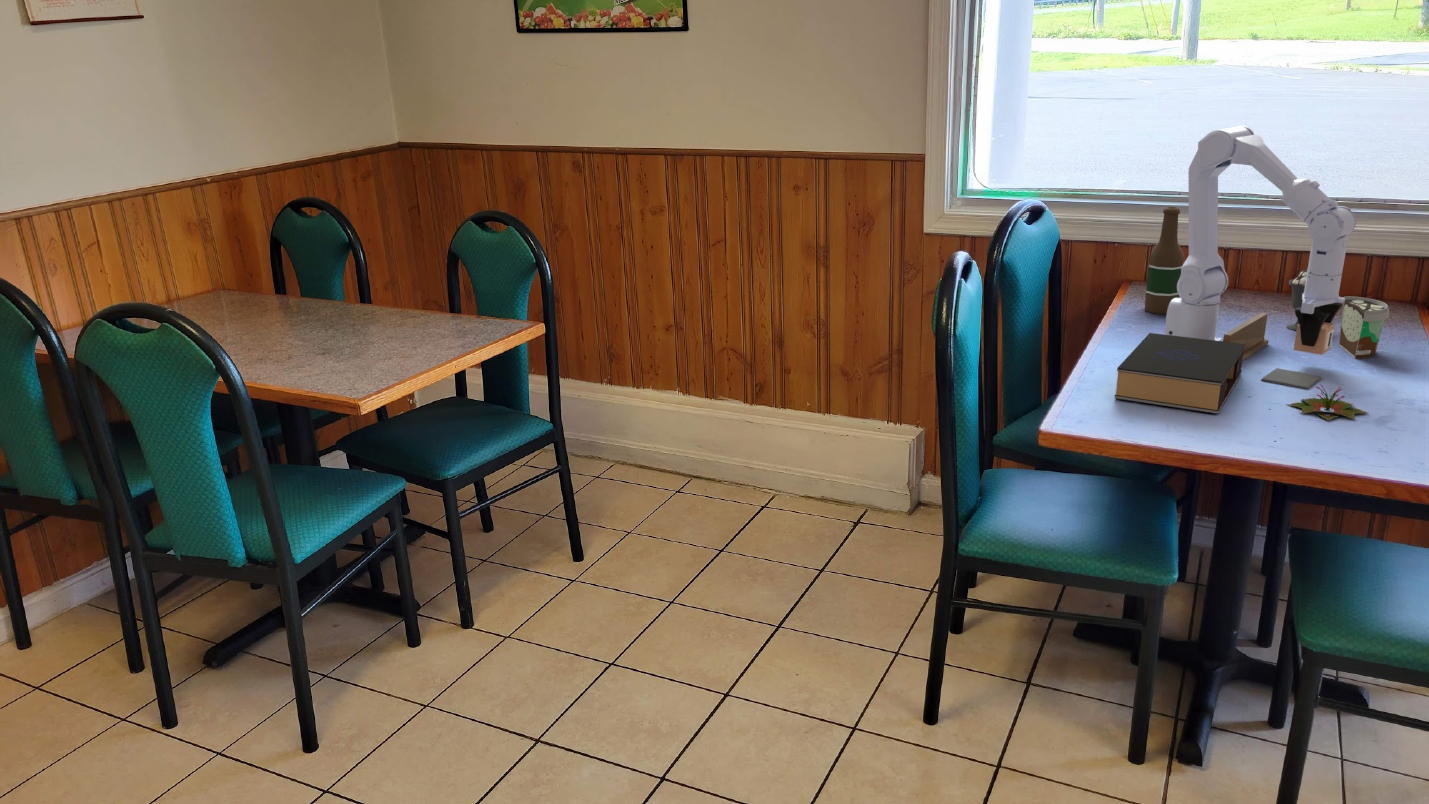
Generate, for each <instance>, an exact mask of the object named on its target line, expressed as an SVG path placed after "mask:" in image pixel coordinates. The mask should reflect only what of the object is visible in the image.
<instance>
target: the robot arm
mask: <svg viewBox="0 0 1429 804" xmlns="http://www.w3.org/2000/svg"><path fill="white" fill-rule="evenodd" d="M1232 164H1235V165H1243V166H1250V167H1252V168H1253V169H1255V170H1256V171H1257V172H1258V173H1259V174H1260V175H1262V176H1263V177H1264V178H1265V179H1267V180H1268V181H1269V182H1270V183H1271V184H1273V185H1274V186H1275V187H1276V188H1277V189H1278V190H1279V191H1281V192H1282V203H1284V204H1285V205H1286V207H1288V208H1289V209H1290V210H1291V211H1292V212H1293V213H1295V214H1296V215H1297V217H1298V218H1300V220H1302V221H1303V222H1304V223H1305V224H1306V225H1308V226H1307V227H1308V228H1307V230H1308V234H1309V236H1310V238H1311V239H1312V240H1311V241H1312V242H1311V248H1310V252H1309V258H1308V266H1307V269H1306V270H1307V276H1306V283H1305V289H1304V293H1303V294H1302V301H1303V302H1302V307H1297V308H1296V309H1294V314H1295V316H1296V319H1298V321H1299V325H1300V332H1301V342H1302V345H1306V346H1312V347H1313V346H1315V344H1316V342H1317V339H1318V336H1319V333H1320V330H1321V327H1322V325H1323V323H1324V322H1326V323H1332V322H1333V320H1334V318H1335V317H1336V315H1337V314H1338V312H1339V311H1340V309H1341V308H1343V306H1342V304H1343V302H1344V301H1345V296H1344V297H1343V296H1342V297H1341V296H1340V295H1339V293H1340V287H1341V283H1342V282H1341V281H1342V276H1343V271H1344V270H1343V269H1344V263H1345V259H1346V253H1347V245H1348V240H1349V235H1351V233H1352V232H1353V231H1354V230H1355V228H1356V225H1357V219H1356V216H1355V214H1354V212H1352V210H1351V208H1349V207H1348V206H1344V205H1338V204H1339V202H1338V201H1337V200H1335V199H1333V200H1332V199H1331V198H1330V197H1329V196H1328V195H1327V194H1326V193H1325V192H1323V191H1322V190H1321V189H1320V188H1319V187H1320V186H1321V185H1320V183H1319V182H1318V181H1316V180H1313V181H1312V180H1310V179H1309V178H1301V179H1299V178H1298V177H1297V176H1296V175H1295V174H1294V172H1292V171H1291V170H1290V169H1289V168H1288V167H1287V166H1286V164H1285V163H1283V162H1282V160H1280V158H1279V157H1278V156H1277V155H1276V154H1275V153H1274V152H1273V151H1272V150H1271V149H1270V148H1269V147H1268V146H1267V145H1266V143H1265V142H1264V140H1263V137H1261V136H1259V135H1258V134H1256V133H1254V131H1253V129H1251V128H1250V127H1249V126H1246V125H1236V126H1233V127H1230V128H1224V129H1215V130H1212V131H1210V132H1209V133H1207V134H1206V135H1205V136H1204V137H1203V138H1201V139H1200V140H1199V141H1198V143H1197V151H1196V153H1195V155H1194V157H1193V158H1192V161H1191V163H1190V164H1189V166H1188V167H1189V168H1188V256H1187V258H1186V259H1185V261H1183V265H1182V267H1181V276H1180V278H1179V280H1178V283H1177V292H1178V294H1179V298H1173V299H1172V300H1171V302H1170V304H1169V306H1168V310H1167V314H1166V317H1165V328H1164V335H1172V336H1181V337H1190V338H1198V339H1207V340H1215V341H1223V338H1222V337H1218V336H1217V337H1216V333H1217V325H1218V318H1219V310H1220V302H1221V294H1223V293H1224V292H1225V291H1226V290H1227V288H1228V286H1229V276H1228V274H1227V272H1226V270H1225V262H1224V260H1223V258H1222V257H1221V256H1220V254H1219V252H1218V251H1219V250H1218V249H1219V244H1218V243H1219V237H1218V236H1219V176H1220V175H1221V174H1222V173H1223V172H1224V171H1226V170H1227V168H1229V167H1230V166H1231V165H1232Z"/></svg>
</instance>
